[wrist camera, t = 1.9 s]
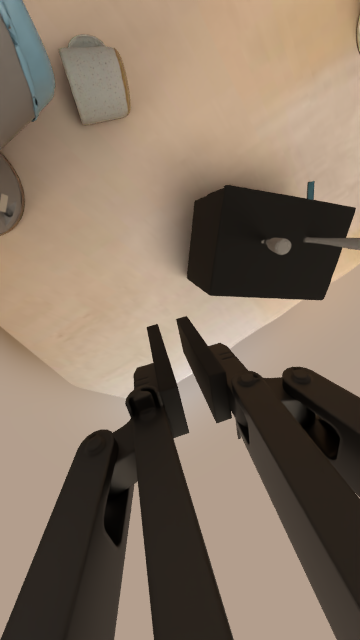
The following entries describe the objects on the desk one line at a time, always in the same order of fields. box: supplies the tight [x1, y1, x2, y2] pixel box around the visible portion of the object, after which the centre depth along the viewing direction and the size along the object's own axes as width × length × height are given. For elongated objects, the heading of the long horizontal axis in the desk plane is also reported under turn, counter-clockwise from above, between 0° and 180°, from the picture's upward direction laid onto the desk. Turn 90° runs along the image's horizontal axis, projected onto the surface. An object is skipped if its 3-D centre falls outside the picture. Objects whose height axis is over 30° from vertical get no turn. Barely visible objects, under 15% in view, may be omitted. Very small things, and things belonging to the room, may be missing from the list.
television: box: [187, 185, 360, 300], centre depth 36 cm, size 23×30×21 cm
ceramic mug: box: [59, 35, 130, 125], centre depth 31 cm, size 11×8×8 cm
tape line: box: [307, 181, 315, 200], centre depth 51 cm, size 2×20×1 cm, turn 11°
